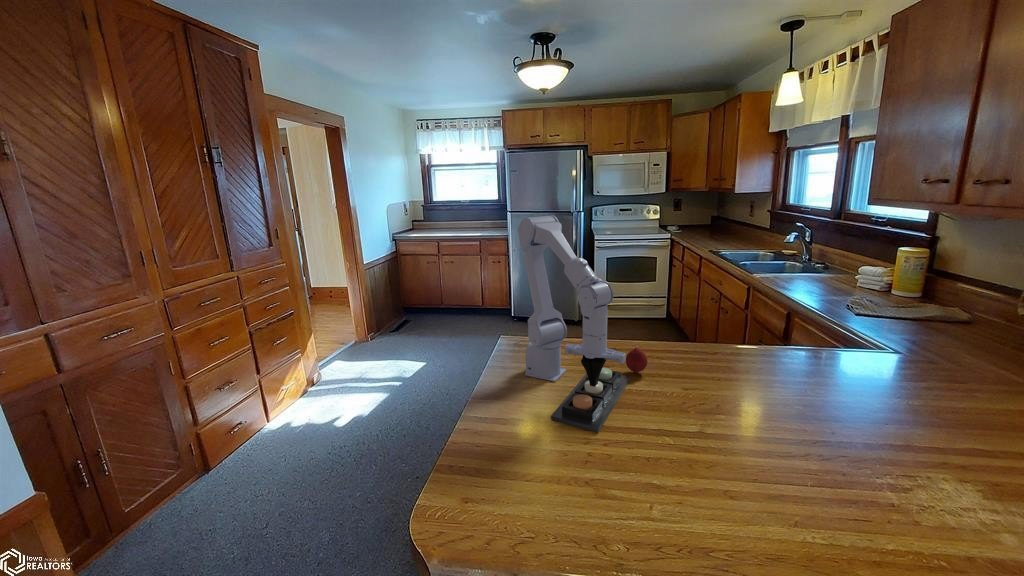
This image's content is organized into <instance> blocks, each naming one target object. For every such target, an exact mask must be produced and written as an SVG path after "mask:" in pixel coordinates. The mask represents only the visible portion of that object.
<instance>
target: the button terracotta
mask: <svg viewBox="0 0 1024 576" xmlns="http://www.w3.org/2000/svg"><path fill="white" fill-rule="evenodd" d="M573 407H575V408H579V409H583V410H587V411H590V410H591V408H592V398H591V397H590V396H588V395H583V394H580V395H576V396H574V397H573Z"/></svg>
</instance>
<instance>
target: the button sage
mask: <svg viewBox="0 0 1024 576" xmlns="http://www.w3.org/2000/svg"><path fill="white" fill-rule="evenodd" d="M611 370H612V369H610V368H607V367H603V368H602V370H601V373H600V376H599V379H603V380H608V381H611V379H612V371H611Z"/></svg>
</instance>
